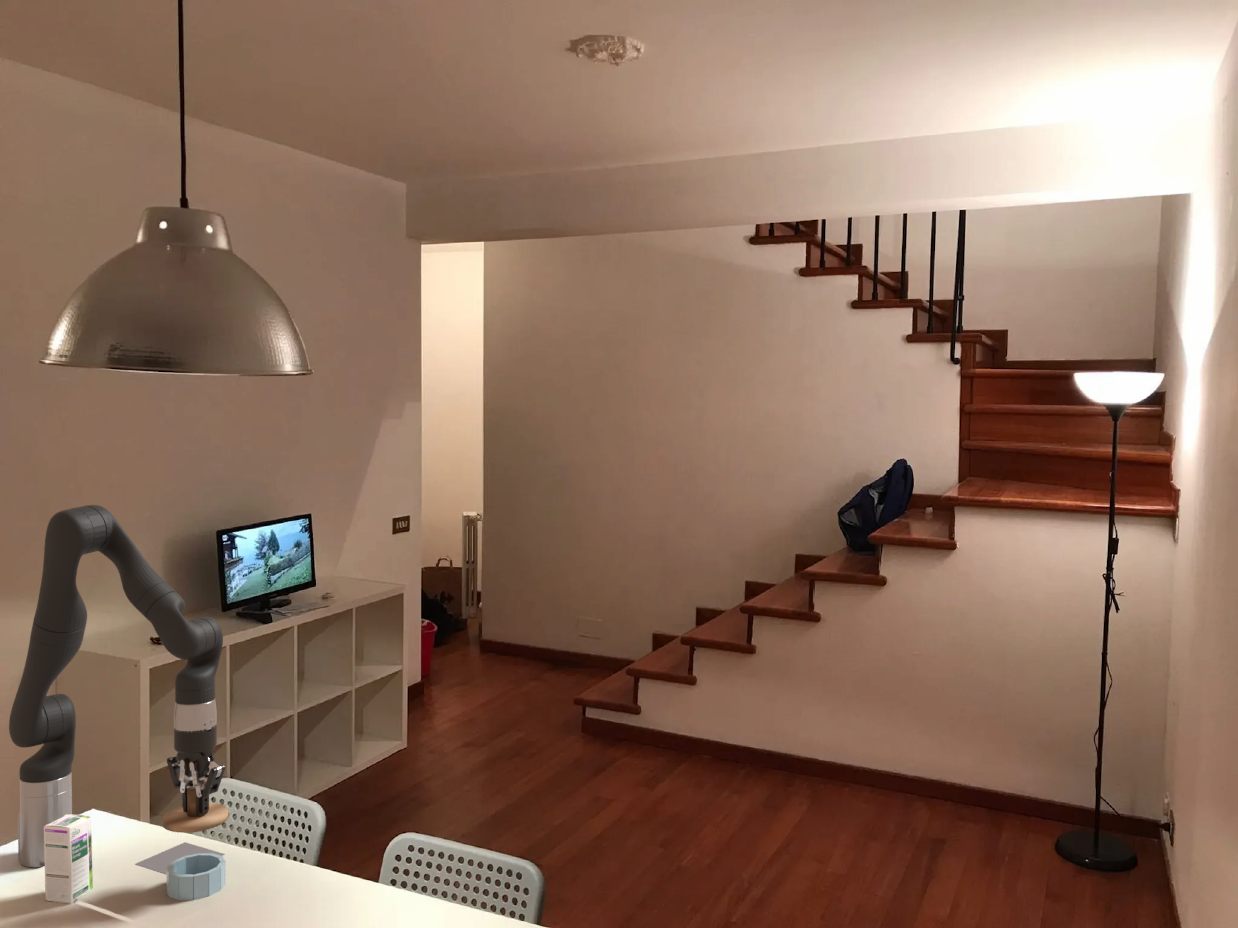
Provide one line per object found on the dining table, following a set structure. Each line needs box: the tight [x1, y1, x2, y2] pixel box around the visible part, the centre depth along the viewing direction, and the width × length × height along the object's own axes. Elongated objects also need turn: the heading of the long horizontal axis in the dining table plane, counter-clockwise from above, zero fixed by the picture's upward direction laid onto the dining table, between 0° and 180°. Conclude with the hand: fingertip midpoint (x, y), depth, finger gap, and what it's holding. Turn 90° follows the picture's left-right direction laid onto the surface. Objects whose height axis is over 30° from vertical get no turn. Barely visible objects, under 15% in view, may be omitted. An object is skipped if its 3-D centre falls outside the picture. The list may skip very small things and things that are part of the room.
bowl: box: [166, 853, 226, 901], centre depth 192 cm, size 10×10×5 cm
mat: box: [134, 842, 226, 875], centre depth 204 cm, size 12×12×1 cm
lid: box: [161, 785, 229, 834], centre depth 191 cm, size 12×12×7 cm
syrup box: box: [44, 814, 94, 905], centre depth 189 cm, size 6×6×14 cm
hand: (195, 812), depth 191 cm, fingers closed on lid, 3 cm apart
